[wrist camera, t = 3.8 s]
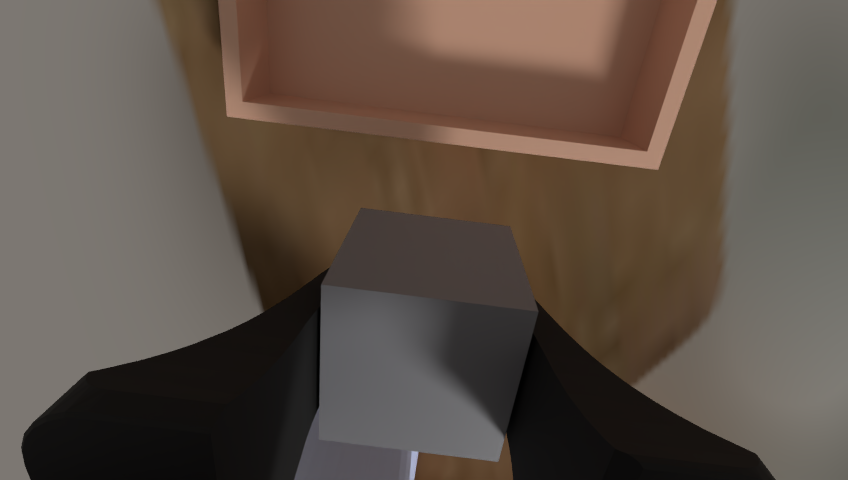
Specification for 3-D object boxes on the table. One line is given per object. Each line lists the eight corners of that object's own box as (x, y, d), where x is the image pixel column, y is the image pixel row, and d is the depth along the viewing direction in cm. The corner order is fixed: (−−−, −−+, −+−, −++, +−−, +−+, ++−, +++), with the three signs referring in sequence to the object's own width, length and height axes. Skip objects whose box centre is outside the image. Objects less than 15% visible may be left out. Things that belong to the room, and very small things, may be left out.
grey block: (484, 345, 15) (498, 461, 11) (354, 329, 15) (318, 439, 11) (510, 226, 13) (538, 311, 9) (360, 207, 13) (321, 284, 9)
